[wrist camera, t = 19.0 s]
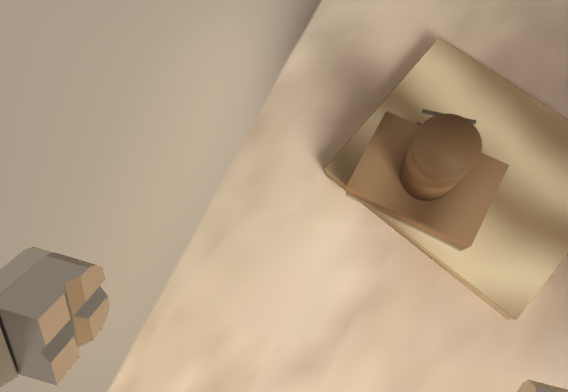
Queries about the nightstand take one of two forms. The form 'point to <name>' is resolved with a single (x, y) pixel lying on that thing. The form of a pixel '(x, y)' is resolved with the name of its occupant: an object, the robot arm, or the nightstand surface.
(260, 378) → the nightstand surface
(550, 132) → the board
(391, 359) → the nightstand surface
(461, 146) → the wooden stamp
